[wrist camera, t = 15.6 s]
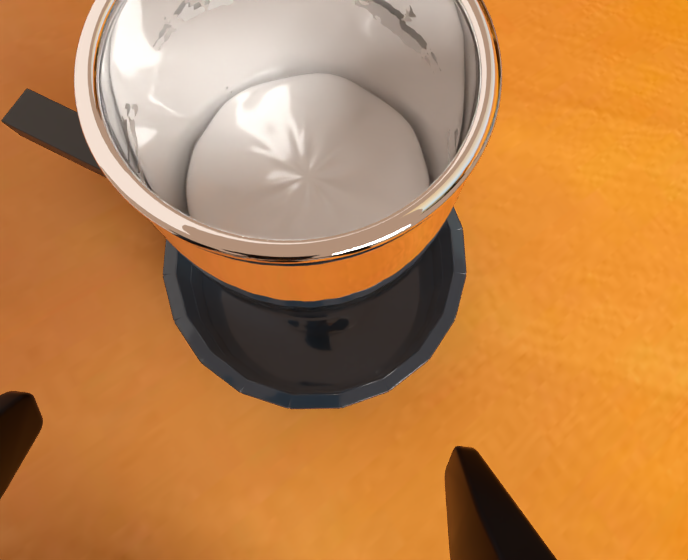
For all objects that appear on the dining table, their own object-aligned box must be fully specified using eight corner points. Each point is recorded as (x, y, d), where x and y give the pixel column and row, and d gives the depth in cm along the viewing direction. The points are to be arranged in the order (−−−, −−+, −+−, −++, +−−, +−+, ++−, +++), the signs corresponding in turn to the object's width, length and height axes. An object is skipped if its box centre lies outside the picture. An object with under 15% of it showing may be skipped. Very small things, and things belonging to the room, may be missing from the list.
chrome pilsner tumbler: (380, 209, 22) (479, -127, 7) (395, 337, 20) (560, 255, 5) (252, 219, 21) (71, -111, 7) (258, 349, 20) (37, 297, 5)
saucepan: (479, 351, 20) (513, 347, 17) (232, 438, 19) (206, 456, 15) (392, 134, 23) (404, 87, 19) (170, 199, 22) (134, 163, 18)
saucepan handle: (209, 184, 19) (201, 171, 18) (188, 218, 19) (178, 208, 18) (44, 104, 20) (26, 87, 19) (20, 135, 20) (0, 120, 18)
